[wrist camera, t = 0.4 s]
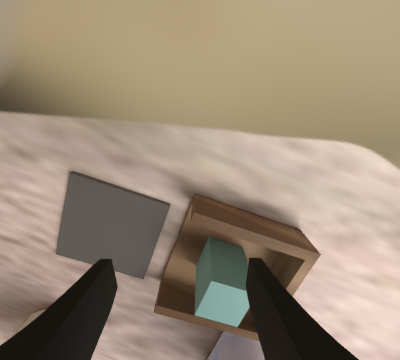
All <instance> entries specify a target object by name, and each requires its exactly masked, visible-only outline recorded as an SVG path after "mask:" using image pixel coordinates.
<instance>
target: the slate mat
mask: <svg viewBox="0 0 400 360" xmlns="http://www.w3.org/2000/svg"><path fill="white" fill-rule="evenodd" d="M169 207H170V204H168V203H165V202H162V201H159V200H156V199H153V198H150V197H147V196H144V195H141V194H138V193H135V192H132V191H129V190H126V189H123V188H120V187H117V186H114V185H111V184H108V183H105V182H102V181H99V180H96V179H93V178H90V177H87V176H84V175H81V174H78V173H75V172H71V173H70V177H69V182H68V188H67V194H66V200H65V205H64V211H63V217H62V223H61V228H60V234H59V240H58V245H57V251H56V254H58V255H61V256H65V257H68V258H72V259H75V260H78V261H82V262H85V263H89V264H92V265H94V264H95V263H96V262H97V261H98V260H99V259H112V263H113V267H114V271H117V272H120V273H124V274H127V275H131V276H134V277H138V278H141V279H144V277H145V274H146V271H147V268H148V266H149V263H150V260H151V257H152V254H153V252H154V249H155V246H156V243H157V240H158V238H159V235H160V232H161V229H162V227H163V224H164V221H165V218H166V215H167V213H168V210H169Z"/></svg>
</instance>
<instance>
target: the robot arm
mask: <svg viewBox="0 0 400 360" xmlns="http://www.w3.org/2000/svg"><path fill="white" fill-rule="evenodd" d="M116 291H117V282H116V277H115V272H114V267H113V263H112V259H99V260H98V261H97V262H96V263H95V264H94V265H93V266H92V267H91V268H90V269H89V270H88V271H87V272H86V273H85V274H84V275H83V276H82V277H81V278H80V279H79V280H78V281H77V282H76V283H75V284H74V285H72V286H71V287H70V288H69V289H68V290H67V291H66V292H65V293H64V294H63V295H62V296H61V297H60V298H59V299H57V300H56V301H55V302H54V303H53V304H52V305H51V306H50V307H48V308H47V309H46V310H45V311H44V312H43V313H42V314H40V315H39V316H38V317H37V318H36V319H34V320H33V321H32V322H31V323H30V324H28V325H27V326H26V327H24V328H23V329H22V330H21V331H19V332H18V333H17V334H15V335H14V336H13V337H12V338H10V339H9V340H8V341H6V342H5V343H3V344H2V345H1V346H0V360H91V357H92V355H93V352H94V350H95V347H96V345H97V343H98V340H99V338H100V335H101V333H102V330H103V328H104V326H105V323H106V321H107V318H108V316H109V313H110V311H111V308H112V305H113V302H114V298H115V295H116ZM246 291H247V296H248V302H249V307H250V310H251V314H252V317H253V321H254V324H255V327H256V331H257V334H258V338H259V341H257V340H254V339H250V338H246V337H243V336H239V335H235V334H232V333H228V332H224V331H223V333H222V335H221V336H220V338H219V340H218V341H217V343H216V345H215V347H214V348H213V350H212V352H211V354H210V355H209V357H208V359H207V360H358V359H357V358H356V357H355V356H354V355H353V354H351V353H350V352H349V351H348V350H347V349H345V348H344V347H343V346H342V345H341V344H339V343H338V342H337V341H336V340H335V339H334V338H333V337H332V336H331V335H330V334H328V333H327V332H326V331H325V330H324V329H323V328H322V327H321V326H320V325H319V324H318V323H317V322H316V321H315V320H314V319H313V318H312V317H311V316H310V315H309V314H308V313H307V312H306V311H305V310H304V309H303V308H302V307H301V305H300V304H299V303H298V302H297V301H296V300H295V299H294V298H293V297H292V295H291V294H290V293H289V292H288V291H287V290H286V288H285V287H284V286H283V285H282V284H281V282H280V281H279V280H278V279H277V278H276V276H275V275H274V274H273V272H272V271H271V270H270V269H269V267H268V266H267V265H266V263H265V262H264V261H263V259H262V258H249V264H248V271H247V279H246Z"/></svg>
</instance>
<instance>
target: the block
mask: <svg viewBox="0 0 400 360" xmlns="http://www.w3.org/2000/svg"><path fill="white" fill-rule="evenodd" d="M247 271H248V262H247V259H246V255H245V252H244V249H243V248H242V247H239V246H236V245H233V244H230V243H227V242H224V241H221V240H217V239H214V238H211V237H209V238H208V240H207V242H206V244H205V246H204V249H203V251H202V253H201V255H200V258H199V260H198V262H197V264H196V283H195V316H199V317H202V318H206V319H210V320H213V321H217V322H221V323H224V324H228V325H231V326H235V327H238V326H239V324H240V322H241V321H242V319H243V317H244V316H245V314H246V312H247V311H248V309H249V302H248V296H247V291H246V279H247Z"/></svg>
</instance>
